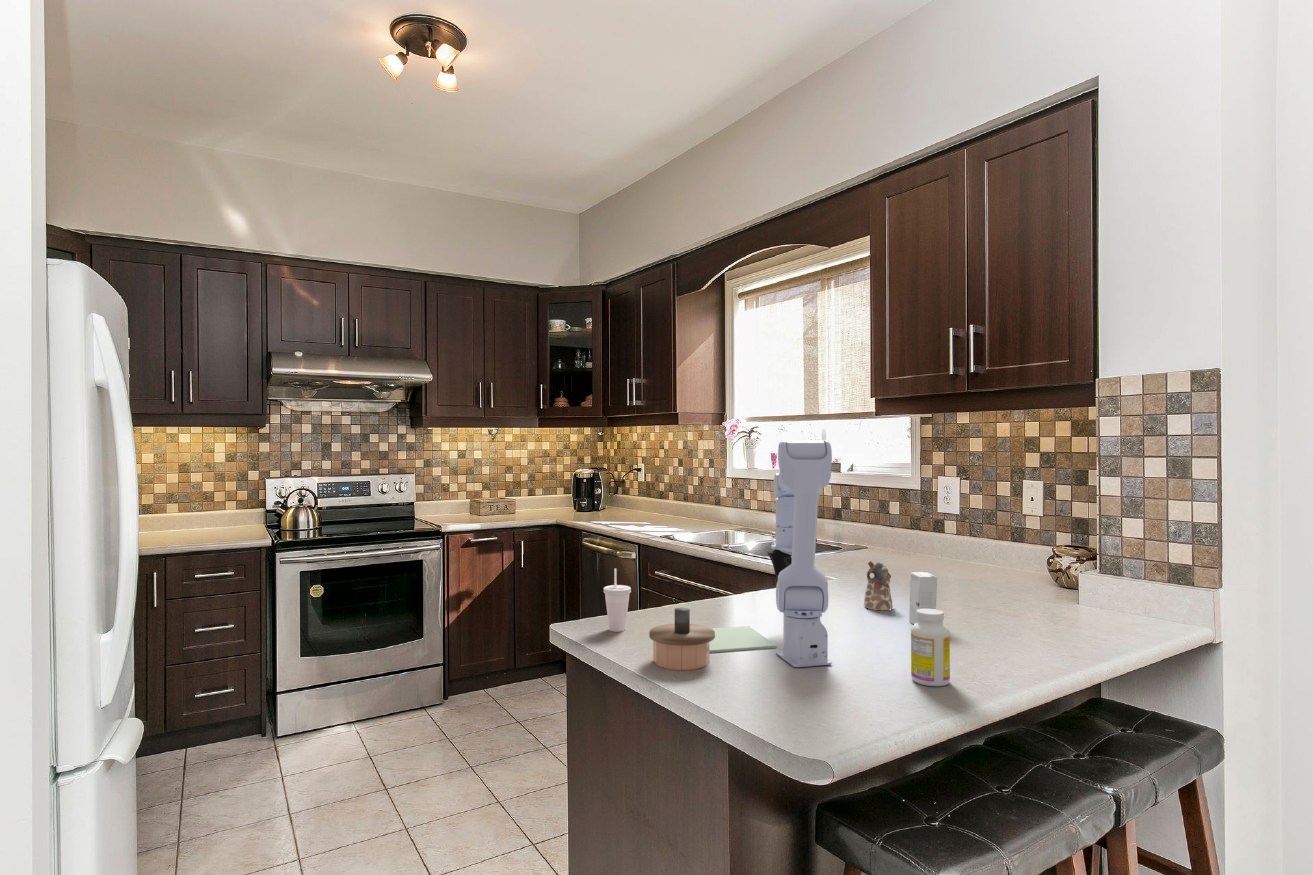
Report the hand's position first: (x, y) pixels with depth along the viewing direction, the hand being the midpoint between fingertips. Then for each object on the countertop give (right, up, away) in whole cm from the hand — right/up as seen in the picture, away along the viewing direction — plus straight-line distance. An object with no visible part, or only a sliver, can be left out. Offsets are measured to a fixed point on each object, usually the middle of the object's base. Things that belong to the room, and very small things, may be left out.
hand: (788, 585), depth 167 cm
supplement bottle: (+20, -11, -34) cm, 41 cm away
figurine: (+28, -11, +22) cm, 37 cm away
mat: (-15, -10, -8) cm, 19 cm away
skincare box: (+33, -11, +5) cm, 35 cm away
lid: (-25, -6, -23) cm, 34 cm away
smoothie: (-39, -11, +1) cm, 41 cm away
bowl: (-25, -11, -23) cm, 36 cm away
